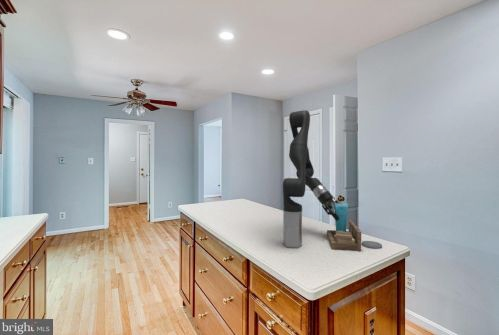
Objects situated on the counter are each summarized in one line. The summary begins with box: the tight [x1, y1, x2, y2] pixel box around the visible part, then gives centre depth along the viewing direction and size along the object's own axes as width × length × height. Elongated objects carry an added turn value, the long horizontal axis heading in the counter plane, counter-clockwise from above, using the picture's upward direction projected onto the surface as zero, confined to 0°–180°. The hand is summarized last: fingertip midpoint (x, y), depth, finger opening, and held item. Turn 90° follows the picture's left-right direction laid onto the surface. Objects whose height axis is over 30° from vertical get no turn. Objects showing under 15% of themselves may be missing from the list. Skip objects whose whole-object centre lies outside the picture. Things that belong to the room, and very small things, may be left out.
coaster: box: [361, 240, 383, 250], centre depth 124 cm, size 9×9×1 cm
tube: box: [334, 203, 349, 232], centre depth 133 cm, size 7×5×19 cm, turn 96°
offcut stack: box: [334, 230, 355, 243], centre depth 124 cm, size 9×9×6 cm
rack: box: [326, 219, 362, 252], centre depth 128 cm, size 22×13×9 cm, turn 169°
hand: (342, 218), depth 132 cm, fingers open, 8 cm apart
